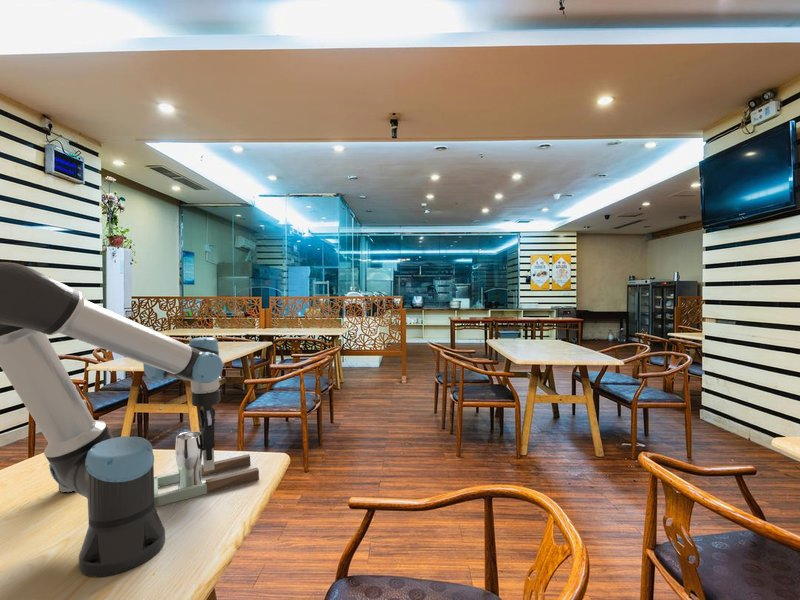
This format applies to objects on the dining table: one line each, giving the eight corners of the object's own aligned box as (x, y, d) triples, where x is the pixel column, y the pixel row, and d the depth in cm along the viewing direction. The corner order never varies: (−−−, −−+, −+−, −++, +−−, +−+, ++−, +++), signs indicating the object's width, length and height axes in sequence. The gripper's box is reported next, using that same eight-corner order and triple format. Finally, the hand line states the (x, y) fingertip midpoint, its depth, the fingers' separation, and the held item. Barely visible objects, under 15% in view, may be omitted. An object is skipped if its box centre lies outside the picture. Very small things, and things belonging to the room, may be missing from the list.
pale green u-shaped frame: (206, 493, 110) (206, 484, 110) (151, 507, 103) (151, 498, 103) (201, 474, 122) (201, 466, 122) (151, 486, 115) (151, 477, 115)
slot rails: (259, 479, 117) (258, 469, 117) (206, 493, 110) (206, 482, 110) (249, 463, 129) (248, 454, 129) (201, 474, 122) (201, 464, 122)
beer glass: (208, 481, 117) (207, 430, 117) (195, 492, 110) (194, 439, 110) (184, 481, 117) (183, 431, 117) (171, 493, 110) (169, 439, 110)
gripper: (223, 392, 113) (226, 474, 113) (216, 384, 124) (219, 458, 124) (193, 397, 109) (197, 481, 109) (189, 387, 120) (192, 465, 120)
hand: (209, 469), depth 117 cm, fingers closed
